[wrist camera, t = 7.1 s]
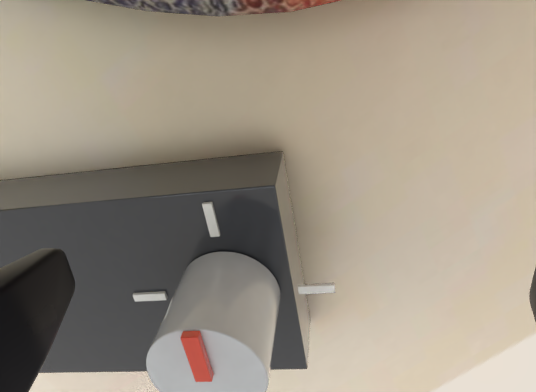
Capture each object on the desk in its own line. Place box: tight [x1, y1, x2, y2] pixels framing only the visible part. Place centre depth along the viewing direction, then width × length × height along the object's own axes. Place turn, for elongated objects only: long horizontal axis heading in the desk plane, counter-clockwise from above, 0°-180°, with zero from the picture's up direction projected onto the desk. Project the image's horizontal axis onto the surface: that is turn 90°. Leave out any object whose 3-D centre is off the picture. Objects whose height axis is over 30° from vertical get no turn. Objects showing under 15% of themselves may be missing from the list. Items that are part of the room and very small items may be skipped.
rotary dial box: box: [0, 151, 335, 373], centre depth 20 cm, size 18×9×3 cm, turn 99°
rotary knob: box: [146, 251, 281, 392], centre depth 16 cm, size 4×4×4 cm
